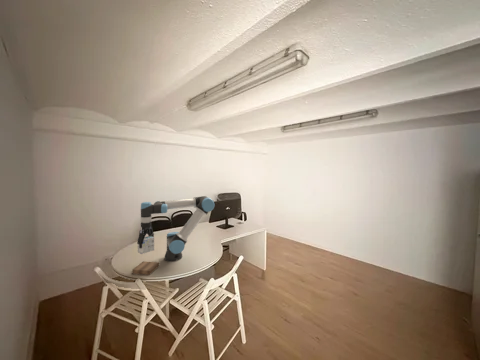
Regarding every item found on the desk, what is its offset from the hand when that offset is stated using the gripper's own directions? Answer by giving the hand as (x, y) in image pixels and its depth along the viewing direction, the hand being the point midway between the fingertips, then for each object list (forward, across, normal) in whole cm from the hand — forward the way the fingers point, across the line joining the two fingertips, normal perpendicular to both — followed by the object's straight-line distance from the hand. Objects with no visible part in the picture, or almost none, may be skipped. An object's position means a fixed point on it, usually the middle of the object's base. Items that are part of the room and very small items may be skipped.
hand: (146, 248), depth 156 cm
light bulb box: (+2, 0, 0) cm, 2 cm away
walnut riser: (+17, 0, 0) cm, 17 cm away
